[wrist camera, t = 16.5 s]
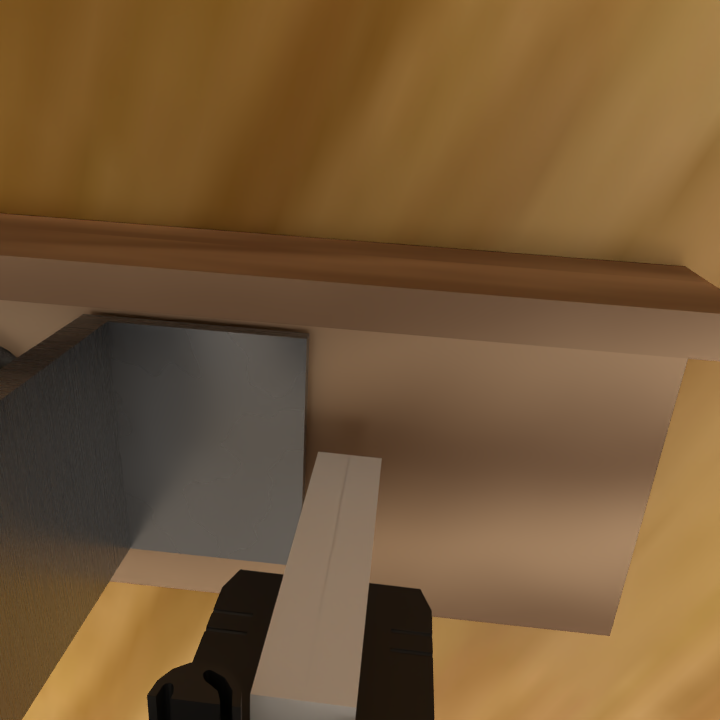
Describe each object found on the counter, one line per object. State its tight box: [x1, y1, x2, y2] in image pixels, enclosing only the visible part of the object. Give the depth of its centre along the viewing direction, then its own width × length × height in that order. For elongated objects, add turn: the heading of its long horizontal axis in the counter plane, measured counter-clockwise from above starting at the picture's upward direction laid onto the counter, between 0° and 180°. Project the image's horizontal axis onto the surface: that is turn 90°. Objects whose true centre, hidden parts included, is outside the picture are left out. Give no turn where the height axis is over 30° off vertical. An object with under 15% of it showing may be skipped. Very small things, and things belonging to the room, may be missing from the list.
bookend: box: [0, 314, 309, 720], centre depth 14 cm, size 7×6×8 cm
